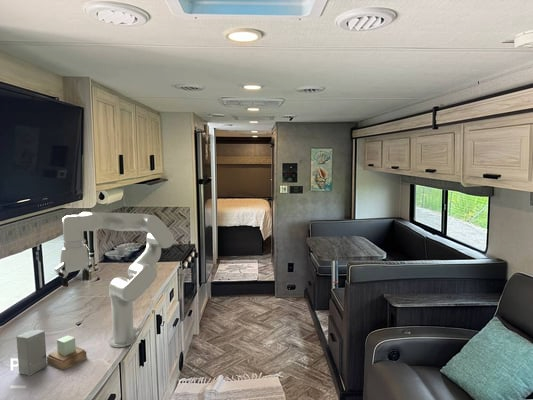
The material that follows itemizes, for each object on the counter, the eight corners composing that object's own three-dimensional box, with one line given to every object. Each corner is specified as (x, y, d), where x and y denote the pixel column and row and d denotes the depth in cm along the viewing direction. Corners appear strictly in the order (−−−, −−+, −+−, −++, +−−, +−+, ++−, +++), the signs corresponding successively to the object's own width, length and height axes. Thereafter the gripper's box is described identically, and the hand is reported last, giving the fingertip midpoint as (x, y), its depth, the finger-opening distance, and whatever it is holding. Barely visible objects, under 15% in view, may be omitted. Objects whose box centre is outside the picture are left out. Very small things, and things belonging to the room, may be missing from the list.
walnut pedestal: (71, 351, 168) (70, 343, 167) (86, 358, 163) (86, 349, 162) (47, 363, 158) (46, 354, 158) (62, 370, 153) (62, 361, 153)
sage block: (68, 348, 163) (67, 335, 163) (75, 350, 161) (75, 337, 160) (57, 353, 159) (56, 339, 158) (64, 356, 157) (64, 342, 156)
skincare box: (29, 376, 149) (26, 339, 147) (17, 372, 151) (14, 336, 149) (48, 365, 156) (46, 330, 155) (36, 362, 159) (34, 327, 157)
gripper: (86, 239, 166) (88, 276, 168) (48, 247, 151) (50, 287, 153) (97, 241, 163) (99, 278, 165) (59, 249, 148) (61, 290, 150)
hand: (76, 282), depth 159 cm, fingers open, 9 cm apart
